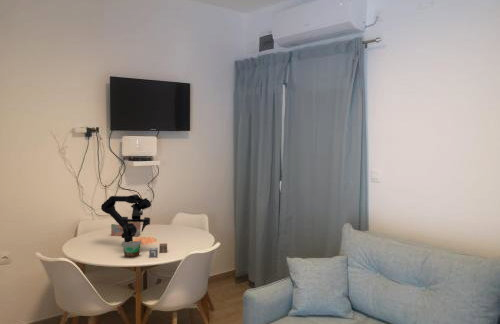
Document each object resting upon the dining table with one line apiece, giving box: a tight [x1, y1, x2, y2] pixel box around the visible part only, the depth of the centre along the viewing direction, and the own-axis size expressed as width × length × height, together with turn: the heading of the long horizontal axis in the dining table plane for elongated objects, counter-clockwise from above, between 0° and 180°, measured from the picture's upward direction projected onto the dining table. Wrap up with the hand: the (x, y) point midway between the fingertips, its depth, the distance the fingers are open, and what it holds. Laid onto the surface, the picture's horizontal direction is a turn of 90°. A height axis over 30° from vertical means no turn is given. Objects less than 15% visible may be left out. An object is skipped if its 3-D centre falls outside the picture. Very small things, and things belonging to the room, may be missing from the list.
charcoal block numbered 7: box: [148, 247, 159, 258], centre depth 243 cm, size 5×5×5 cm
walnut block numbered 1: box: [158, 242, 168, 254], centre depth 253 cm, size 5×5×5 cm
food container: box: [121, 239, 142, 258], centre depth 241 cm, size 12×6×10 cm, turn 103°
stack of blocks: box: [110, 221, 141, 238], centre depth 290 cm, size 21×6×12 cm, turn 84°
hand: (134, 231), depth 249 cm, fingers open, 9 cm apart
